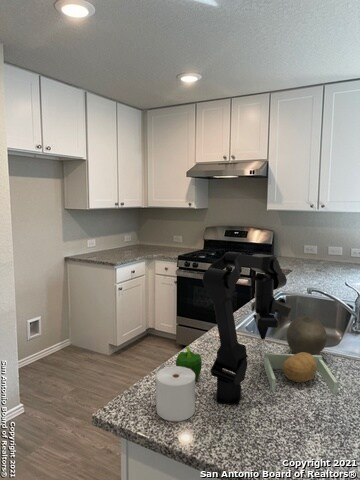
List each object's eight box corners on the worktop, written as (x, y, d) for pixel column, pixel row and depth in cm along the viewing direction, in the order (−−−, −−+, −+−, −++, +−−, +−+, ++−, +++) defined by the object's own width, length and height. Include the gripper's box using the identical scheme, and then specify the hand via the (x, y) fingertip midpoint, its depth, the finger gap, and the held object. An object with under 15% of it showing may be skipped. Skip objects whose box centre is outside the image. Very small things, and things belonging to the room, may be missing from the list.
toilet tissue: (183, 427, 87) (183, 389, 86) (144, 412, 93) (144, 377, 92) (201, 405, 96) (201, 371, 95) (165, 394, 102) (165, 361, 101)
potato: (323, 376, 113) (324, 353, 112) (305, 393, 103) (306, 367, 102) (294, 366, 119) (295, 344, 119) (275, 381, 109) (276, 357, 108)
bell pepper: (199, 386, 106) (199, 355, 105) (173, 384, 108) (173, 353, 107) (203, 373, 114) (203, 344, 113) (179, 371, 116) (179, 342, 115)
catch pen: (271, 391, 103) (272, 375, 103) (264, 366, 119) (264, 353, 119) (337, 395, 102) (338, 379, 101) (320, 369, 117) (321, 355, 117)
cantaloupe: (282, 360, 125) (283, 320, 123) (289, 346, 137) (290, 309, 135) (324, 368, 118) (326, 326, 116) (327, 353, 130) (329, 314, 129)
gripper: (296, 301, 102) (294, 352, 103) (283, 286, 120) (282, 329, 122) (258, 300, 103) (256, 350, 104) (251, 285, 121) (250, 328, 123)
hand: (262, 338), depth 113 cm, fingers closed
